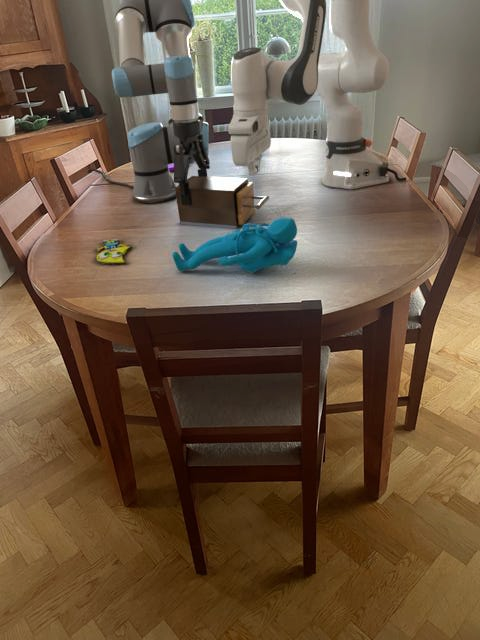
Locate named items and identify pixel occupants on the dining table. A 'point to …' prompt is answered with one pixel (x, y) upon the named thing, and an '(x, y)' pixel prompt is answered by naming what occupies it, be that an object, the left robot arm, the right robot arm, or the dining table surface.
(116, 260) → the toy
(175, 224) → the dining table surface
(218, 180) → the cabinet
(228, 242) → the toy
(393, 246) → the dining table surface
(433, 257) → the dining table surface
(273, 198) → the dining table surface
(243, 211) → the drawer
